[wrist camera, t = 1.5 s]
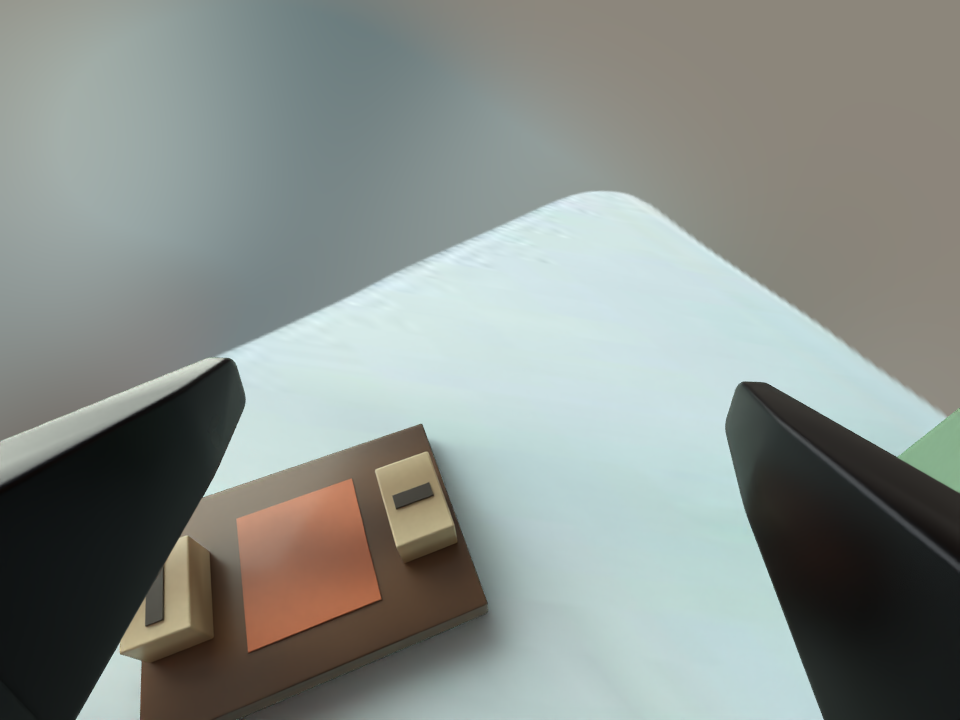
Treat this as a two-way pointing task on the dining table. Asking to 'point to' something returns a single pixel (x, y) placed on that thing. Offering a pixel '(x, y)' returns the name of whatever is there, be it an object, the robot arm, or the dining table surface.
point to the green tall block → (939, 452)
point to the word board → (303, 581)
